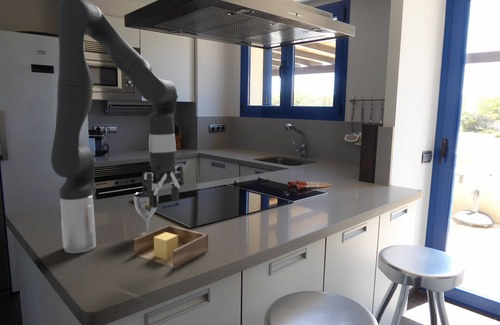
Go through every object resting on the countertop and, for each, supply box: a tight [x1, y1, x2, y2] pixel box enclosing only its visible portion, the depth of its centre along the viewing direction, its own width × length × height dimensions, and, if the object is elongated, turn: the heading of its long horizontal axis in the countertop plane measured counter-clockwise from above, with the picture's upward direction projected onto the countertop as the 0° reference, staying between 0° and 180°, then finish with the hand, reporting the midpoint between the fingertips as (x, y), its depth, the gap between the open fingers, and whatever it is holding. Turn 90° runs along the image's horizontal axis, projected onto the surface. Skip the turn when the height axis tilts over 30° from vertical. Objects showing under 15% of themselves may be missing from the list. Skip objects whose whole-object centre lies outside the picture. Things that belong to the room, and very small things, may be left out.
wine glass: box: [133, 191, 159, 236], centre depth 122 cm, size 8×8×15 cm
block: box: [154, 232, 178, 260], centre depth 106 cm, size 5×5×6 cm
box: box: [133, 224, 209, 269], centre depth 108 cm, size 17×15×6 cm
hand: (164, 203), depth 104 cm, fingers open, 8 cm apart
